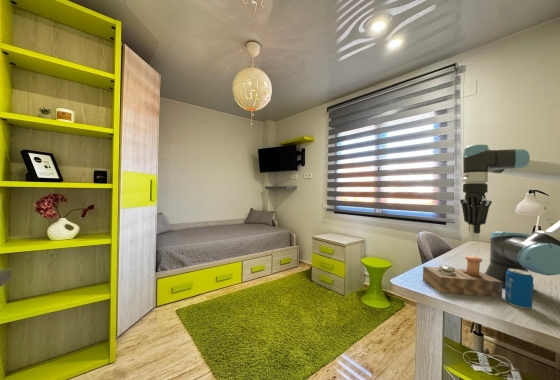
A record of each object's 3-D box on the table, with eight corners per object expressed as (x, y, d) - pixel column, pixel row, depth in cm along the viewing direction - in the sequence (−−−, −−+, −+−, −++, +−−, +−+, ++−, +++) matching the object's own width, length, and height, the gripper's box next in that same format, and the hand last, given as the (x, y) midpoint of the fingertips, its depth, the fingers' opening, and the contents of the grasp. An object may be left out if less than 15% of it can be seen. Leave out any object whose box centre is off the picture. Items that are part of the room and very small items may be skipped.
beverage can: (499, 299, 80) (501, 267, 80) (517, 300, 79) (518, 268, 79) (518, 309, 73) (519, 274, 73) (538, 310, 73) (539, 275, 73)
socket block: (476, 284, 93) (476, 270, 93) (501, 297, 81) (502, 282, 81) (422, 279, 95) (423, 266, 95) (440, 292, 83) (440, 277, 83)
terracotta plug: (474, 273, 90) (475, 256, 90) (484, 278, 85) (485, 259, 85) (461, 272, 91) (462, 255, 91) (471, 277, 86) (471, 259, 86)
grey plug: (448, 282, 91) (449, 265, 91) (457, 288, 86) (457, 269, 86) (436, 281, 92) (436, 264, 92) (443, 286, 87) (444, 268, 87)
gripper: (453, 183, 95) (453, 236, 95) (478, 182, 82) (477, 244, 82) (472, 184, 94) (471, 237, 94) (499, 182, 81) (498, 244, 81)
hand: (474, 240), depth 88 cm, fingers closed
